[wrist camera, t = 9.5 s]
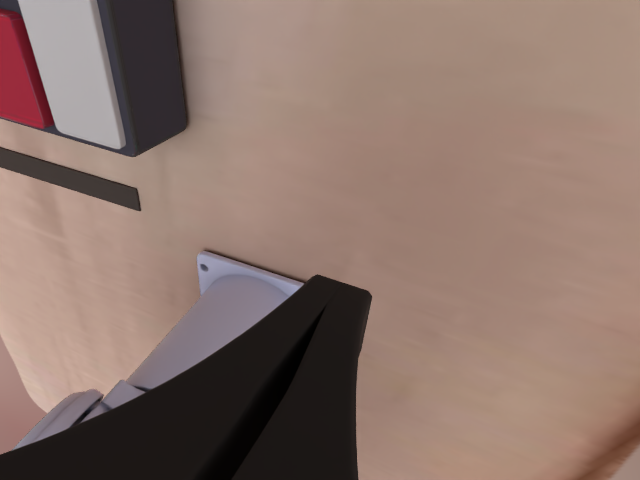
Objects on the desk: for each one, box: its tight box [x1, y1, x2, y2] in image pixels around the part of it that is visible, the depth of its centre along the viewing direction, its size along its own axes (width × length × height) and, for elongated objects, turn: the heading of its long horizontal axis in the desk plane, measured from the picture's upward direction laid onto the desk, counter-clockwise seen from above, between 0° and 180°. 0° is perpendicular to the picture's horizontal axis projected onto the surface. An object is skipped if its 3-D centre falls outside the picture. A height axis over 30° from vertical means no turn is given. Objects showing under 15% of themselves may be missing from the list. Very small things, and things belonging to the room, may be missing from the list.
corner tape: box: [0, 148, 141, 211], centre depth 23 cm, size 20×13×1 cm, turn 175°
